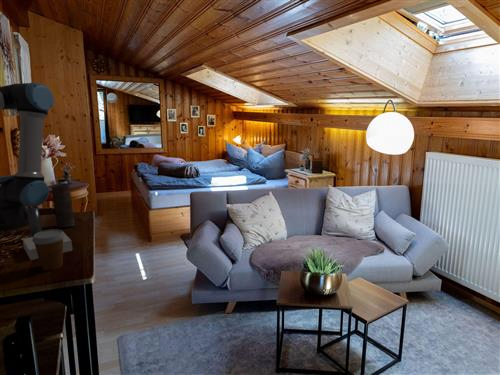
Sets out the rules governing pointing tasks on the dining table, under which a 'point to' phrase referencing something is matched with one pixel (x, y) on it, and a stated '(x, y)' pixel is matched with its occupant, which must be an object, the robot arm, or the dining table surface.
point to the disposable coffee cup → (49, 248)
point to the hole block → (32, 251)
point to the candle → (63, 205)
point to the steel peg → (34, 220)
